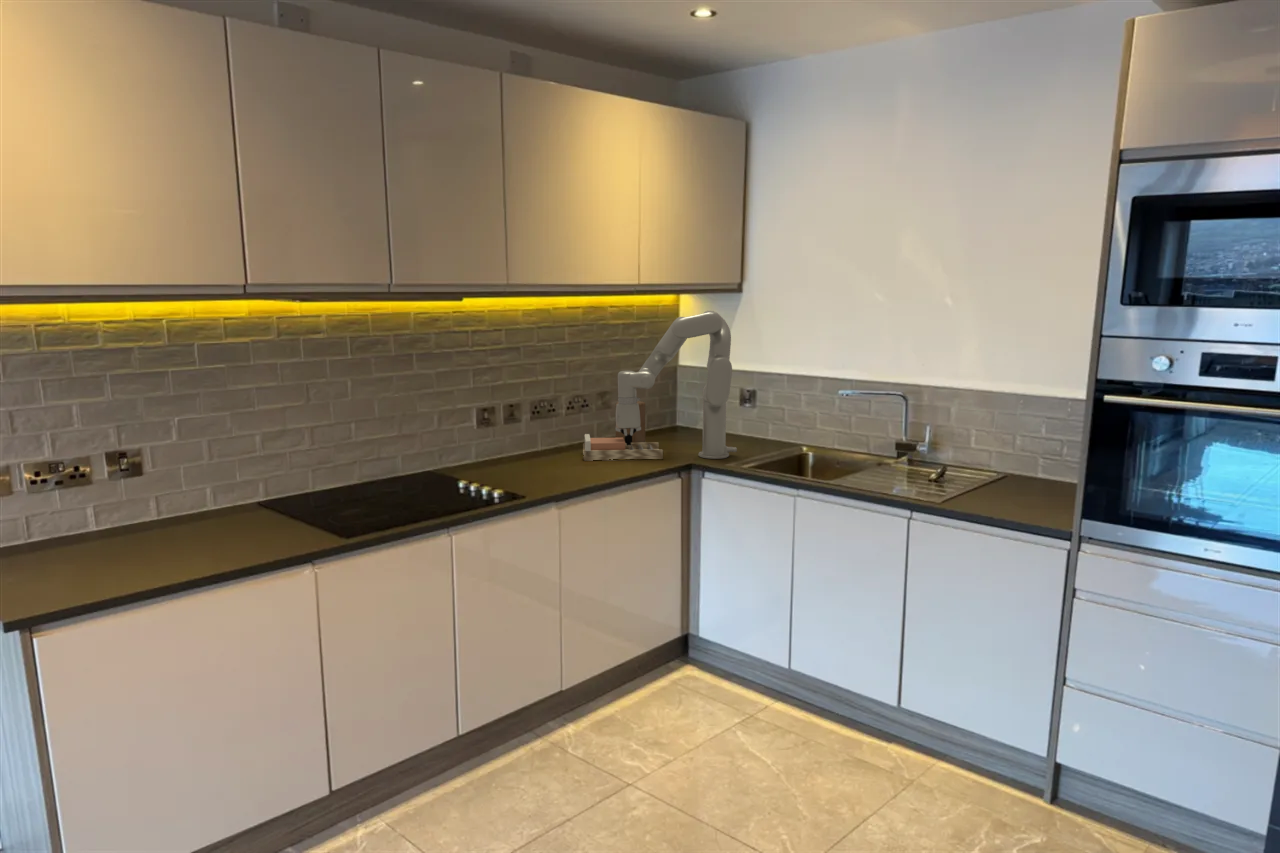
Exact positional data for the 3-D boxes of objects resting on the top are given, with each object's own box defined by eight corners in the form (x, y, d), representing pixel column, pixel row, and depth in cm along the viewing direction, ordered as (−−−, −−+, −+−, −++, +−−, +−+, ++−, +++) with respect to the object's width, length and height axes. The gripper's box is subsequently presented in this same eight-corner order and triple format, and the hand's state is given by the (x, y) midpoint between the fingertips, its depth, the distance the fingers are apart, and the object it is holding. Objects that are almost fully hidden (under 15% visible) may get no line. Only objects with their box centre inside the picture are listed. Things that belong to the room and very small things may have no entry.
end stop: (589, 449, 349) (589, 434, 347) (590, 457, 333) (590, 441, 332) (584, 449, 348) (584, 434, 347) (585, 457, 333) (585, 441, 332)
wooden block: (646, 446, 363) (646, 401, 359) (633, 450, 354) (634, 404, 351) (627, 443, 368) (627, 399, 365) (614, 447, 360) (614, 402, 356)
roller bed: (658, 451, 351) (658, 442, 351) (662, 459, 336) (662, 449, 335) (583, 452, 349) (583, 443, 348) (584, 460, 333) (584, 451, 332)
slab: (623, 444, 347) (623, 437, 347) (625, 450, 336) (625, 442, 335) (590, 444, 346) (589, 437, 346) (590, 450, 334) (590, 443, 334)
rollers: (651, 448, 350) (651, 444, 349) (655, 455, 336) (655, 450, 336) (590, 449, 347) (590, 445, 347) (591, 456, 334) (591, 451, 334)
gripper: (644, 399, 343) (645, 442, 346) (608, 400, 341) (610, 443, 345) (646, 401, 335) (647, 445, 339) (609, 402, 334) (611, 447, 337)
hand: (628, 444), depth 342 cm, fingers closed
